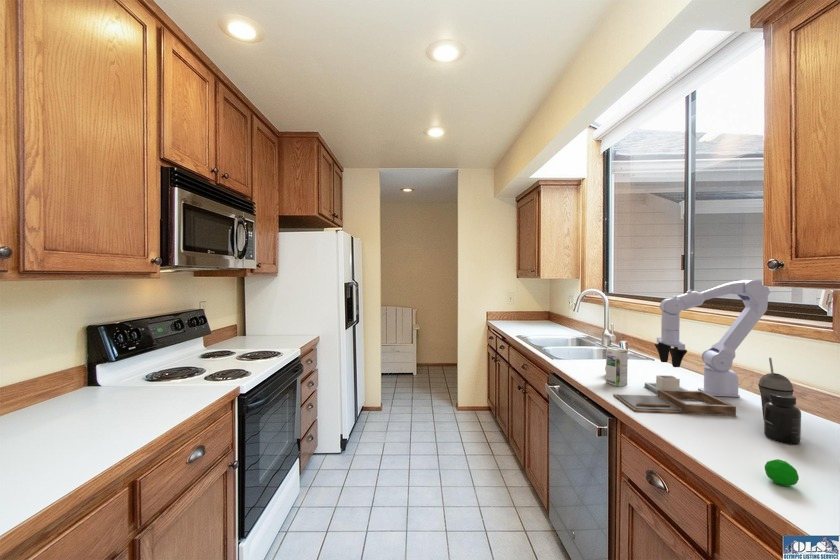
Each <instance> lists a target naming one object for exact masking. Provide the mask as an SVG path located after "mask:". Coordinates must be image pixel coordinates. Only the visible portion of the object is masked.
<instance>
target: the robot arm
mask: <svg viewBox="0 0 840 560" xmlns="http://www.w3.org/2000/svg"><path fill="white" fill-rule="evenodd" d="M762 281H763V280H761V279H740V280H737V281H736V280H735V281H731V282H727V283H724V284H721V285H717V286H715V287H713V288H709V289H707V290H704V291H701V292H699V291H696V290H687V291H686V293H683V294H680V295H673V296H672V298H665V299H663V300H662V301H661V302H660V304H659V309H660V311H661V324H660V325H661V327H660V328H661V331H660V332H661V336H660V337H656V343H654V346H655V348H656V351H657V353H658V355H659V359H660V362H661V363H668V361H669V354H670V357H671V365H672V368H680V367H681V364H682V361H683V359H684V357H685V355H686V354H687V353H688V350H687V349H686V344H684V343H682V342H681V341H680V326H681V324H680V322H681V321H680V313H681V312H682V311H686V310H689V309H692V308H696V307H700V306H702V305H703V303H704V302H705V301H707V300H711V299H715V298H718V297H722V296H725V295H726V296H727V295H731V294H732V295H737V296H738V297H739V298H740V299H741V301H742V303H743V305H744V308H743V310H742V311H741V312H740V314H738V316H737V317H736V319H735V320H734V321H733V323H732V324H731V326H729V328H728V329H727V331H726V332H725V333H724V334H723V336H722V337H721V338H720V340H718V342H716V343H714V344H713V345H711V347H710V348H708V349H706V350H704V351H703V352H702V354H701V359H702V361H703V363H704V365H703V387H697V389H698V391H703V392H705V393H708V394H710V395H712V396H714V397H737V398H740V397H741V395H740V394H739V376H738V375H737V373H736V371H734V370H732V369H731V368H732V366H733V362H734V360H735V358H736V350H737V349H738V347H739V346H740V345H741V344H742V342H743V341H744V340H745V339H746V338H747V336H748V335H749V334H750V332H751V331H752V330H753V328H755V326H756V325H757V323H758V322H759V321H760V320H761V318H762V317H763V316H764V314H765V313H766V312H767V310H768V306H769V305H768V302H769V295H770V294H771V291H770V288H769V287H768V286H767V287H764V286H763V285H762Z"/></svg>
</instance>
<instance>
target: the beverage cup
mask: <svg viewBox="0 0 840 560" xmlns="http://www.w3.org/2000/svg"><path fill="white" fill-rule="evenodd" d="M772 359H773V358H772V357H768V361H769V367H770V372H769V373H766V374H764V375H762V376H761V377H760V379H759V381H758V389H759V393H760V400H761V408H762V419H763V421H764V417H765V404H766V403H768V402H771V400H770V393H771V392H778V393H785V394H789V395H792V396H794V387H793V386H794V385H793V384H792V381H790V379H788V377H786V376H785V375H783V374H780V373H776V372H774V367H773V360H772Z"/></svg>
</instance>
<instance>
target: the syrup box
mask: <svg viewBox="0 0 840 560" xmlns="http://www.w3.org/2000/svg"><path fill="white" fill-rule="evenodd" d="M628 352H629V350H628V349H626V348H621V347H616V346H615V347H614V346H609V347H606V352H605V357H606V358H605V359H606V360H605V367H606V371H605V383H606V384H608V383H609V384H610V385H612V386H615V387H623V386H628V360H629V358H628V356H629V355H628Z"/></svg>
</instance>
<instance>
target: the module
mask: <svg viewBox="0 0 840 560" xmlns="http://www.w3.org/2000/svg"><path fill="white" fill-rule="evenodd" d="M655 378H656V379H655V380H656V381H655V383H656V388H658V389H660V390H679V389H680V387H681V385H680V382H681V381H680V380H681V379H680V378H678V377H676V376H674V375H660V374H659V375H656V376H655Z"/></svg>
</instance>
